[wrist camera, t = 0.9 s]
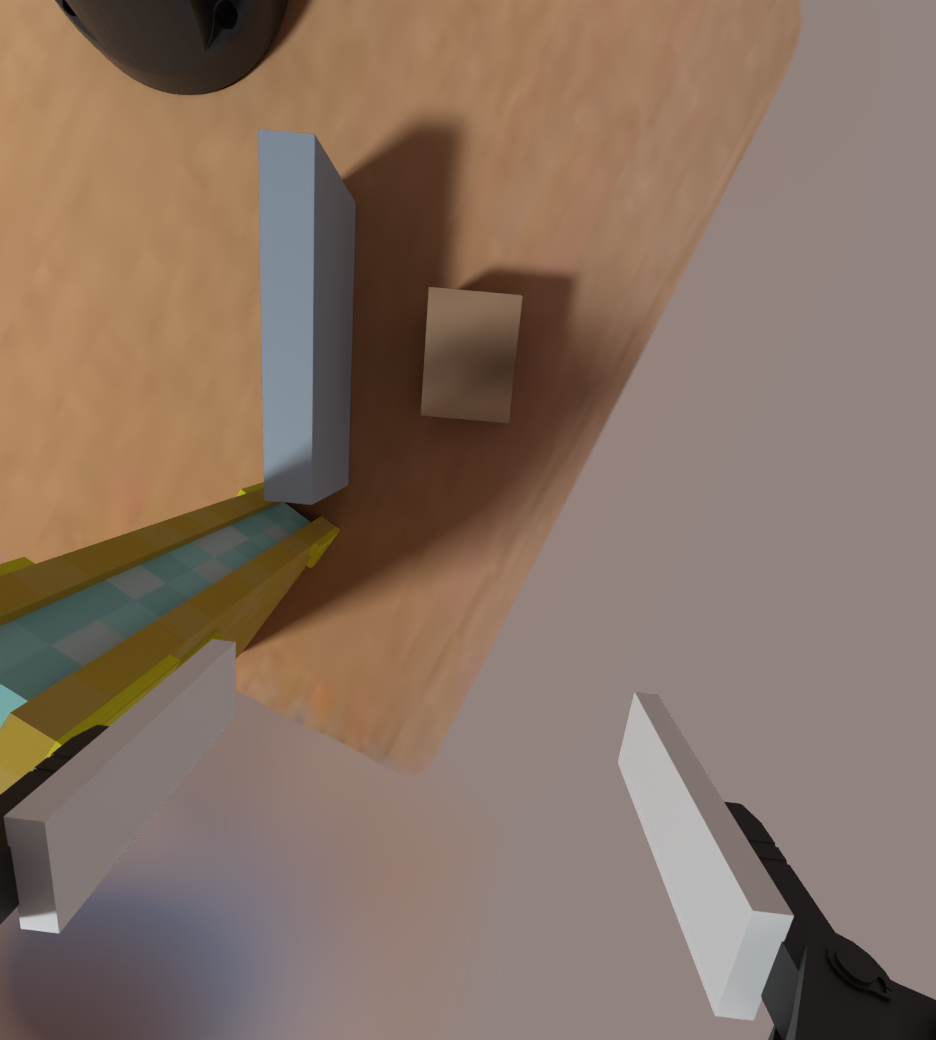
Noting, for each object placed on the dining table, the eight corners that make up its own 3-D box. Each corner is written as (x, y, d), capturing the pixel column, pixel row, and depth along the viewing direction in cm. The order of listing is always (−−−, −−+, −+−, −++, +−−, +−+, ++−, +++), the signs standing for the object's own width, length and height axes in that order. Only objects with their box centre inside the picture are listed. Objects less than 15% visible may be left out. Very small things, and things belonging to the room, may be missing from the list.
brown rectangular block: (435, 303, 33) (428, 286, 29) (517, 311, 33) (522, 295, 29) (428, 415, 35) (420, 415, 31) (505, 422, 35) (508, 423, 31)
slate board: (313, 199, 32) (258, 129, 24) (356, 202, 32) (314, 134, 24) (311, 481, 36) (264, 500, 28) (348, 485, 36) (311, 504, 28)
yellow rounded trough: (272, 479, 36) (-154, 611, 12) (340, 530, 37) (71, 750, 13) (169, 629, 40) (-327, 969, 15) (233, 672, 40) (-141, 1062, 16)
